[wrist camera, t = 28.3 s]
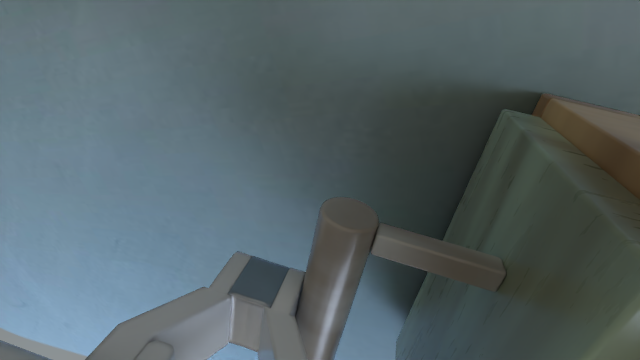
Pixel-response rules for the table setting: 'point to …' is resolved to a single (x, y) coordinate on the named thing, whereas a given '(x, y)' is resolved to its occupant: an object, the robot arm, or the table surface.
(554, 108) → the cabinet
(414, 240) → the drawer
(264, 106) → the table surface
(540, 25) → the table surface
